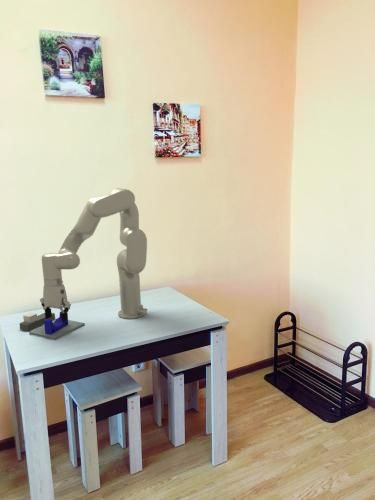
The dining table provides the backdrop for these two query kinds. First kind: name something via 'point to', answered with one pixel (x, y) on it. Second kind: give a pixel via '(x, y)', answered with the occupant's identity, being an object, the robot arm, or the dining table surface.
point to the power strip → (34, 321)
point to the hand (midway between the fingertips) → (56, 319)
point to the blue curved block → (54, 325)
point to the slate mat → (63, 331)
